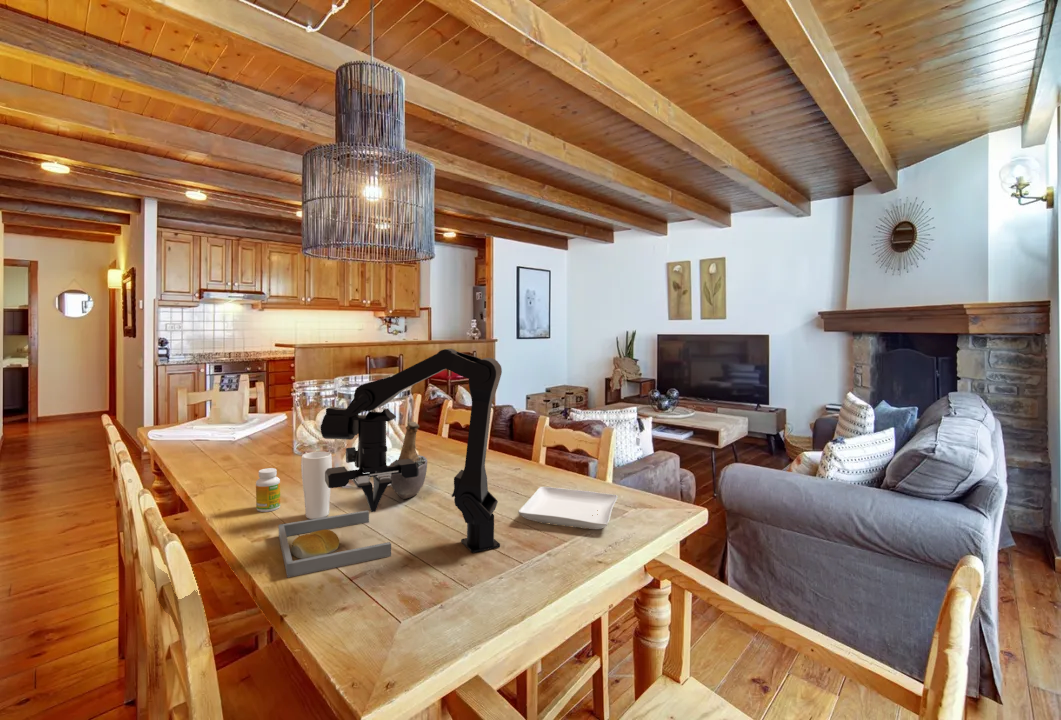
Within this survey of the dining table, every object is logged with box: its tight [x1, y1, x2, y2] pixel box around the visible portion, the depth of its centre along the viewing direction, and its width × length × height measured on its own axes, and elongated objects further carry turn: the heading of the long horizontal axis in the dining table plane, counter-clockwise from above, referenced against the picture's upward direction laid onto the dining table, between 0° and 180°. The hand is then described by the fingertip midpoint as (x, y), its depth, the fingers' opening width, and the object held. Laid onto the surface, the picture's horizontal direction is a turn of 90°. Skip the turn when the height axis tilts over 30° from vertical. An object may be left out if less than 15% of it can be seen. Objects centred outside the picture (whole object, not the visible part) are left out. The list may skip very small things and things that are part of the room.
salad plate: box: [518, 486, 619, 530], centre depth 129 cm, size 21×21×3 cm
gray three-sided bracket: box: [278, 509, 392, 578], centre depth 109 cm, size 21×19×2 cm
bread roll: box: [290, 529, 340, 560], centre depth 107 cm, size 8×9×4 cm
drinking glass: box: [300, 451, 333, 520], centre depth 125 cm, size 7×7×15 cm
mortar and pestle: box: [389, 421, 428, 500], centre depth 141 cm, size 15×17×20 cm
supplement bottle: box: [255, 467, 281, 513], centre depth 129 cm, size 5×5×10 cm
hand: (372, 511), depth 113 cm, fingers closed
